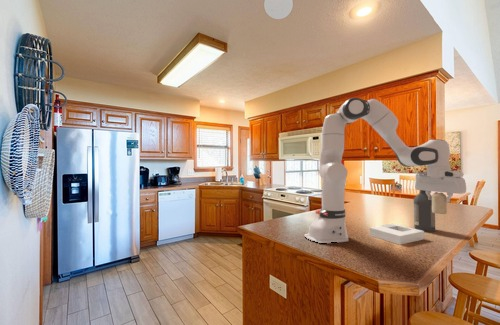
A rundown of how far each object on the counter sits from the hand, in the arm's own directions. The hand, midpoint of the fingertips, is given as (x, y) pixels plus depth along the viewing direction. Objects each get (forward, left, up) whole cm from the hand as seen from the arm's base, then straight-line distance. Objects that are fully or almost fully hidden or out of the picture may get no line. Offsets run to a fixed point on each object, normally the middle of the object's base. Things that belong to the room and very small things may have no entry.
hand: (438, 201), depth 112 cm
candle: (0, 0, -6) cm, 6 cm away
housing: (-15, +12, -19) cm, 27 cm away
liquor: (+12, +14, -19) cm, 27 cm away
